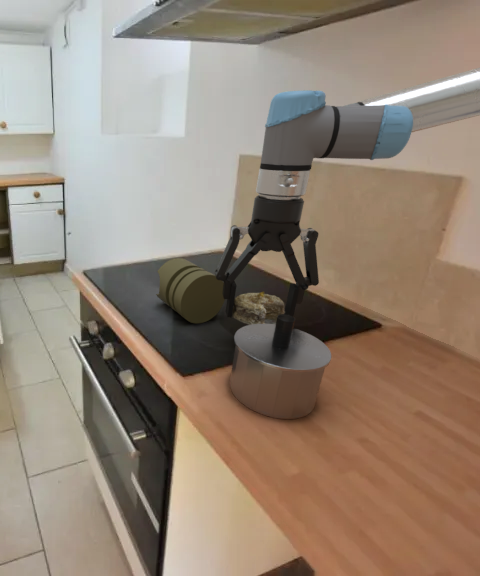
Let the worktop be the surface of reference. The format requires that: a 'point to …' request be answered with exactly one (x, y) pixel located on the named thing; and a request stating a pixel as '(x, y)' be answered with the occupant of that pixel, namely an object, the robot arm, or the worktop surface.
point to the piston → (190, 290)
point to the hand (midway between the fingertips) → (257, 316)
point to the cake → (257, 308)
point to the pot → (273, 388)
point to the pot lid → (282, 346)
